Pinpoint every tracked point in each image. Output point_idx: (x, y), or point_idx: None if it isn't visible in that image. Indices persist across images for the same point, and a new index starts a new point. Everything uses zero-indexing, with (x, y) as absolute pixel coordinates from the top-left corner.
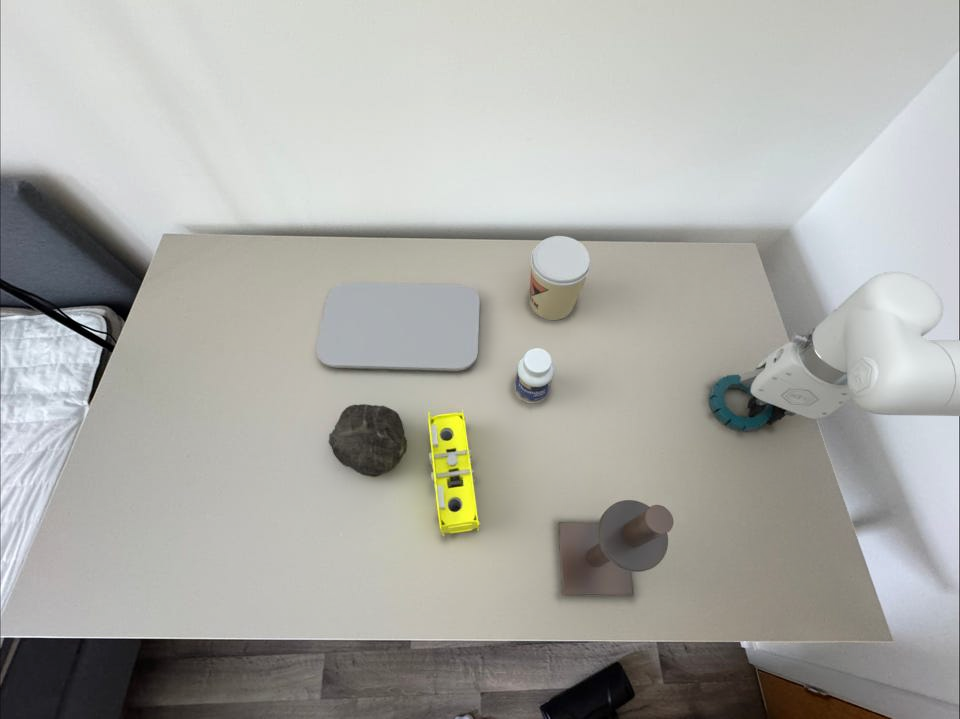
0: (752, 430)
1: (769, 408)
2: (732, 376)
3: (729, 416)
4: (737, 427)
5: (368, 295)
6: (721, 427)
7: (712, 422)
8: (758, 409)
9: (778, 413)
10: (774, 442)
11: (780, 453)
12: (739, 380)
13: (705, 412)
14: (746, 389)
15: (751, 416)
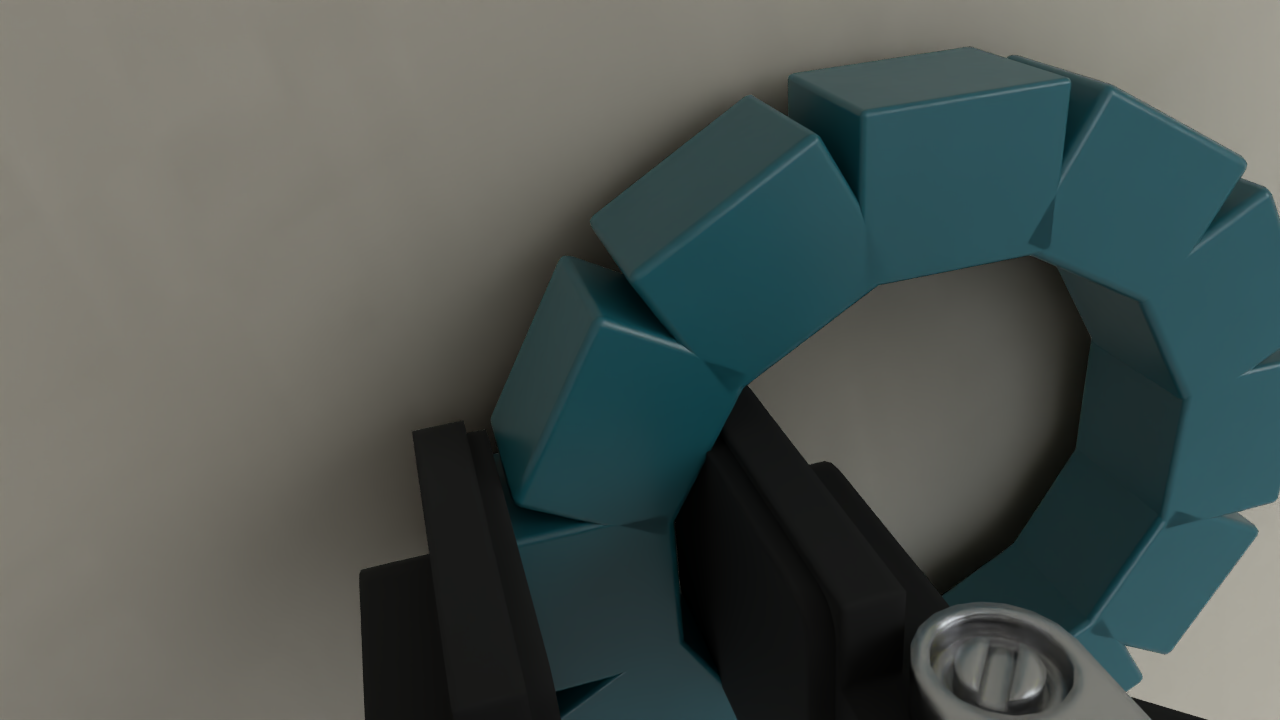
0: (616, 197)
1: (576, 638)
2: None
3: (1100, 167)
4: (894, 79)
5: None
6: (986, 7)
7: (1105, 13)
8: (849, 529)
9: (546, 684)
10: (218, 222)
11: (35, 88)
12: None
13: (1196, 107)
14: None
15: None
